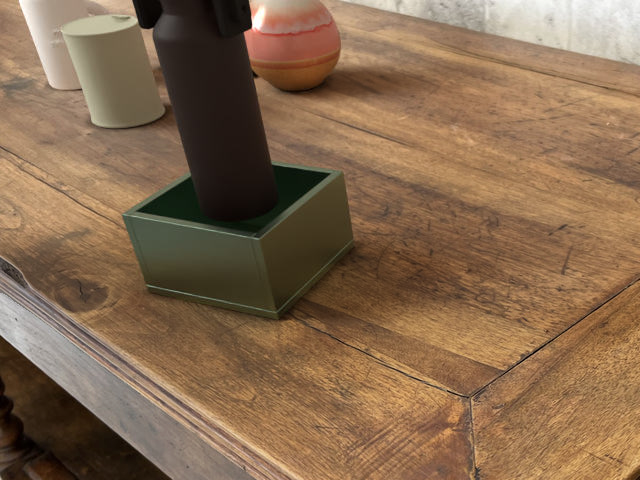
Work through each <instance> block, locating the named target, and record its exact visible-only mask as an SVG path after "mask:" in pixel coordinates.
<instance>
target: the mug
mask: <svg viewBox="0 0 640 480" xmlns="http://www.w3.org/2000/svg"><path fill="white" fill-rule="evenodd" d="M18 3H19V5H20V8H21V11H22V13H23V17H24V19H25V22H26V24H27V27H28V30H29V33H30V35H31V38H32V40H33V43H34V46H35V49H36V51H37V54H38V57H39V60H40V62H41V65H42V68H43V70H44V73H45V76H46V78H47V81H48V84H49V86H50V87H52V88H53V89H55V90H61V91H72V90H73V91H74V90H82V87H81V84H80V81H79V78H78V75H77V72H76V70H75V67H74V64H73V61H72V58H71V56H70V53H69V50H68V47H67V44H66V42H65V39H64V37H63V34H62V32H61V27H62V26H63V25H64V24H66V23H68V22H71V21H74V20H77V19H81V18H85V17H90V15H92V16H98V15H113V14H112V13H111V12H110V11H109V10H108V8H106V7H105V6H103V5H102V4H100V3H99V2H96V1H94V0H18Z"/></svg>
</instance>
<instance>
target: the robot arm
mask: <svg viewBox="0 0 640 480" xmlns="http://www.w3.org/2000/svg"><path fill="white" fill-rule="evenodd" d="M131 1H132V5H133V8H134V11H135V15H136V16H135V17H136V18H137V19H138V23H139V26H140V28H141V30H151V29H152V30H153V28H154V26H155V24H156V23H157V21H158V19H159V18H160V16H161V14H162V12H163V9H162V5H161V1H159V0H131ZM213 2H214V7H215V11H216V15H217V20H218V24H219V28H220V32H221V34H222V35H223V36H224V37H226V38H232V37H235V36H237V35H239V34H241V33H243V32H245V31H248V30H250V29H251V28H252V19H251V8H250V0H213Z"/></svg>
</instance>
